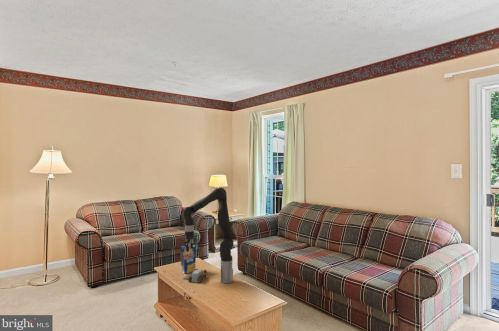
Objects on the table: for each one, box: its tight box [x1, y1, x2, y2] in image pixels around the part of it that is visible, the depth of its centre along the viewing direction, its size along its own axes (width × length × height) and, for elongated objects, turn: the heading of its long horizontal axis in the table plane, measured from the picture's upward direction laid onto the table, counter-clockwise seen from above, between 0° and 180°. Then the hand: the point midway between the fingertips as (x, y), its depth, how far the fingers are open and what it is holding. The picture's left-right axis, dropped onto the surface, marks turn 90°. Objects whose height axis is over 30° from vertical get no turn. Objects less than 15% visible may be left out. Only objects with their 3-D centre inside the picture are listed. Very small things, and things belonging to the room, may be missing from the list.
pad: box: [183, 274, 192, 281], centre depth 251 cm, size 9×9×1 cm
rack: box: [188, 268, 207, 284], centre depth 247 cm, size 10×14×6 cm
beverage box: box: [180, 244, 197, 274], centre depth 266 cm, size 7×11×22 cm, turn 132°
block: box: [191, 269, 203, 284], centre depth 245 cm, size 5×8×7 cm, turn 166°
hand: (189, 249), depth 254 cm, fingers open, 8 cm apart
